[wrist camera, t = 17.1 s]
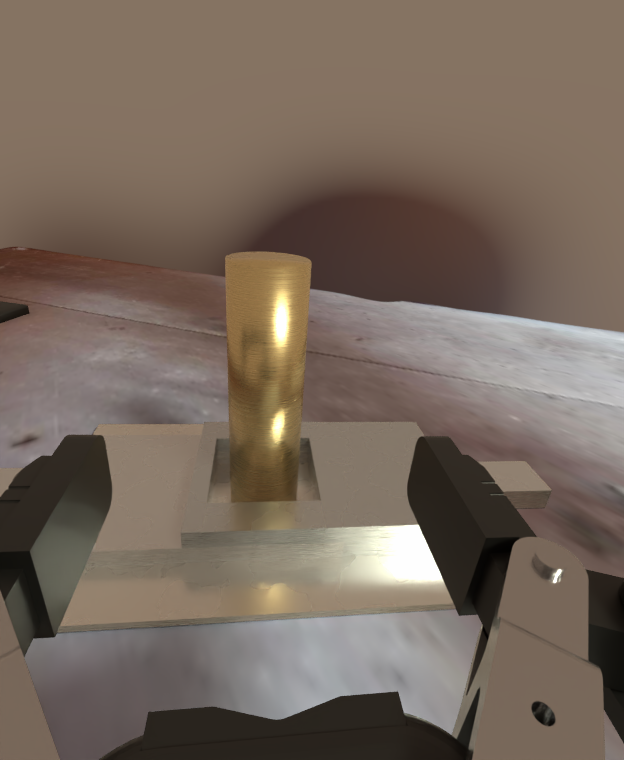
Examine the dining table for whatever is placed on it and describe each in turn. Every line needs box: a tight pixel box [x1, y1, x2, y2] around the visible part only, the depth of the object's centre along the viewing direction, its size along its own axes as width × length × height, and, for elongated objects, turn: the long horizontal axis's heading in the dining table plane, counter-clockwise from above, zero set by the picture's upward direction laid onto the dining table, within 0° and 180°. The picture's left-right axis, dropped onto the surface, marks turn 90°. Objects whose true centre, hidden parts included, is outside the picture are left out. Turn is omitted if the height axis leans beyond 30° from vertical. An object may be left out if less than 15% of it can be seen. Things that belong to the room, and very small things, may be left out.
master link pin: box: [225, 252, 311, 503], centre depth 23 cm, size 4×4×14 cm
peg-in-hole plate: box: [0, 422, 552, 633], centre depth 26 cm, size 36×16×2 cm, turn 96°
